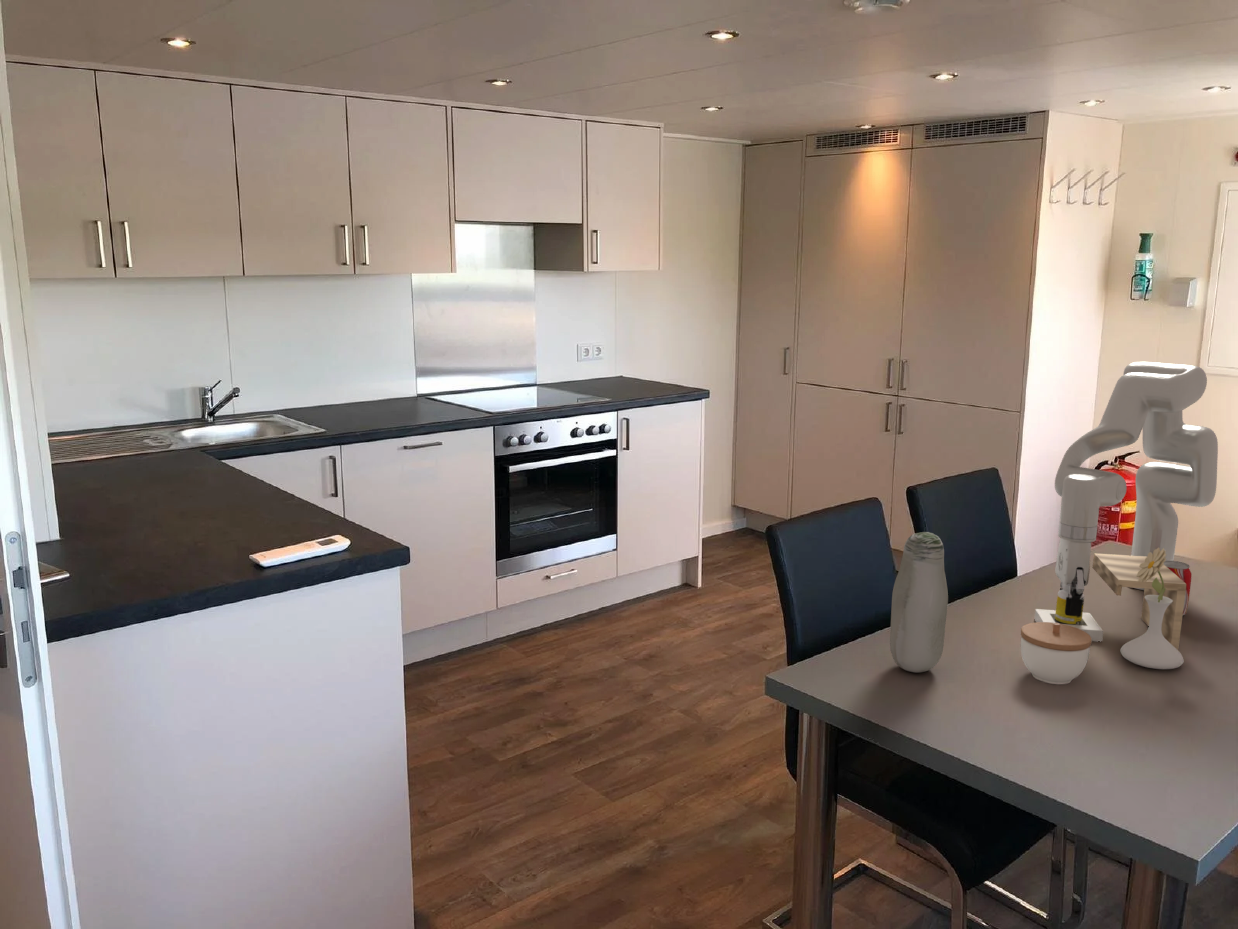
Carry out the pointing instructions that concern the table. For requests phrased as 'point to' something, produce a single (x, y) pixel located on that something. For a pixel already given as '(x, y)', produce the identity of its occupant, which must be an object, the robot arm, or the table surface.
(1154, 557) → the flower in vase
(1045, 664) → the lidded bowl
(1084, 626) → the socket block
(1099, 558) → the small wooden stool
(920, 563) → the grey bottle
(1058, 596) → the supplement bottle
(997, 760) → the table surface
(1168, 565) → the soda can
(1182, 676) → the table surface
